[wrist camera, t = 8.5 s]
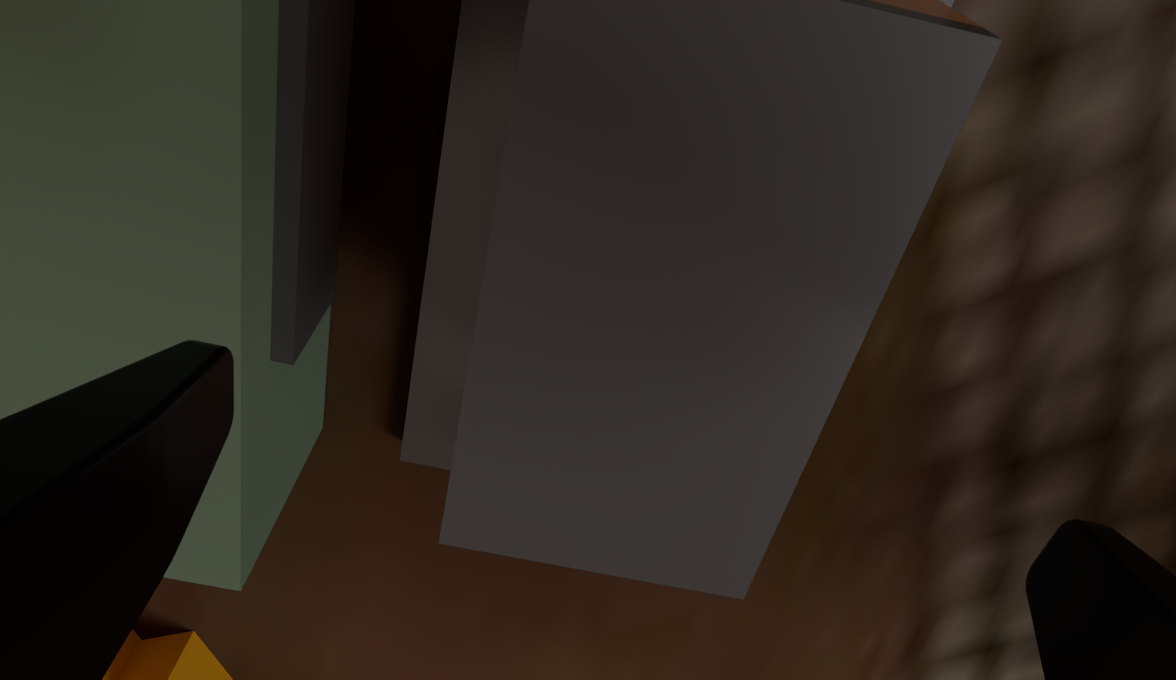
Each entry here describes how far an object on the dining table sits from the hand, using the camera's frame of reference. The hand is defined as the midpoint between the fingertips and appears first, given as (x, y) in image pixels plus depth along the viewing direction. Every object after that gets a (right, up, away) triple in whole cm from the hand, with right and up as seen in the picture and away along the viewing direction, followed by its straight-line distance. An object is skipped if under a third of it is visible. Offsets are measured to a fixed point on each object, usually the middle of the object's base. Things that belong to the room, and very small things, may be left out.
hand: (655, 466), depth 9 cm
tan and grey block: (+1, +4, +7) cm, 8 cm away
